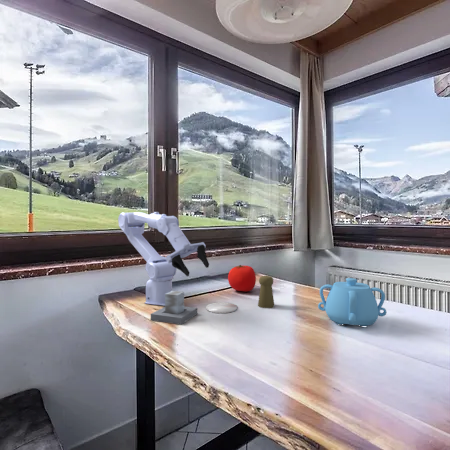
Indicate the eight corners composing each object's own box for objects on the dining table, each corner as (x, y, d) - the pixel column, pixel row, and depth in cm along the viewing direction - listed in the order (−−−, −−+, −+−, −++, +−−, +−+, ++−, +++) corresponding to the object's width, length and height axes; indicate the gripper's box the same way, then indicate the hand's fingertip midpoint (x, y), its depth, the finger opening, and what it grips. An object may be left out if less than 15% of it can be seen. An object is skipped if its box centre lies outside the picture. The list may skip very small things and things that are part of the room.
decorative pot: (354, 311, 111) (354, 272, 110) (392, 326, 95) (392, 281, 95) (313, 316, 105) (314, 275, 105) (347, 333, 90) (347, 285, 90)
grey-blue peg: (165, 318, 104) (165, 293, 103) (172, 314, 108) (172, 290, 108) (177, 319, 102) (177, 295, 102) (184, 315, 106) (184, 291, 106)
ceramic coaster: (201, 311, 111) (201, 309, 111) (213, 302, 121) (213, 301, 121) (230, 314, 107) (230, 313, 107) (241, 305, 117) (241, 304, 117)
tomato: (262, 289, 142) (262, 264, 142) (247, 296, 130) (247, 268, 130) (238, 286, 149) (238, 261, 148) (222, 292, 137) (222, 266, 137)
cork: (274, 308, 114) (274, 278, 113) (257, 307, 115) (257, 277, 115) (274, 303, 120) (274, 274, 119) (258, 303, 121) (258, 274, 121)
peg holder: (150, 320, 102) (150, 313, 102) (169, 310, 112) (169, 304, 112) (181, 324, 98) (181, 318, 98) (197, 313, 108) (197, 307, 108)
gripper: (160, 241, 107) (180, 271, 101) (198, 227, 114) (218, 255, 108) (160, 253, 112) (178, 283, 106) (195, 240, 119) (214, 267, 113)
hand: (198, 270), depth 107 cm, fingers open, 7 cm apart
